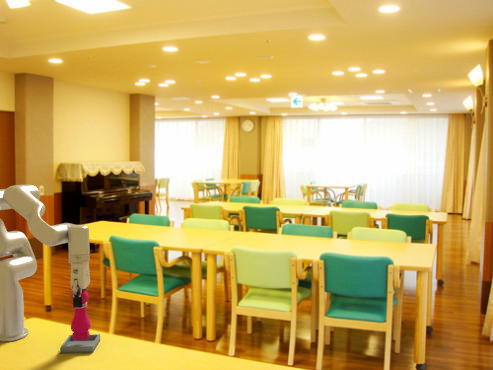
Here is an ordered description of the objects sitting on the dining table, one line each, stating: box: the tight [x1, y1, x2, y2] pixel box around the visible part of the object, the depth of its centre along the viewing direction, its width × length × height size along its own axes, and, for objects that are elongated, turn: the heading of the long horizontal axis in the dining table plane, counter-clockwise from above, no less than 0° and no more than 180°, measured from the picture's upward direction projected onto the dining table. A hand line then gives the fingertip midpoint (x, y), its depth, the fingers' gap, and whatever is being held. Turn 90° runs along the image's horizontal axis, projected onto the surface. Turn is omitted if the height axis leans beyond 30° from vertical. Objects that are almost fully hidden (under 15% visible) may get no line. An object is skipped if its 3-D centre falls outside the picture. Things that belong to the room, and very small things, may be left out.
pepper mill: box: [70, 287, 92, 340], centre depth 181 cm, size 7×7×20 cm
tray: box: [60, 333, 101, 355], centre depth 181 cm, size 12×12×2 cm
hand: (80, 304), depth 180 cm, fingers closed on pepper mill, 6 cm apart
